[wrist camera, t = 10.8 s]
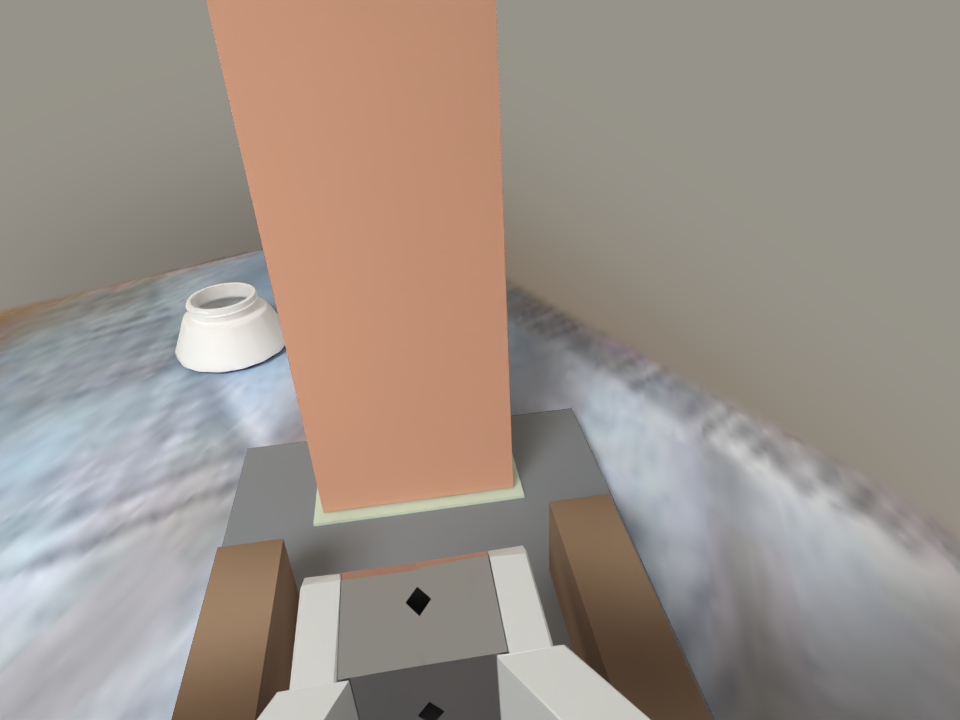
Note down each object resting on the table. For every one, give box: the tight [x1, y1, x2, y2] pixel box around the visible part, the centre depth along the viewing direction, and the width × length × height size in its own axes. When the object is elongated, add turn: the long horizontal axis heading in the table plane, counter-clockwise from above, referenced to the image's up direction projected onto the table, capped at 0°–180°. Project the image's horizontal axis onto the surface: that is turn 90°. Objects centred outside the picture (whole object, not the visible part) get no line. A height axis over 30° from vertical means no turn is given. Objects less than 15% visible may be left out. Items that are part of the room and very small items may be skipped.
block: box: [207, 0, 513, 513], centre depth 20 cm, size 6×6×15 cm
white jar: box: [175, 282, 285, 372], centre depth 31 cm, size 5×3×5 cm
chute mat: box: [222, 408, 714, 720], centre depth 17 cm, size 20×12×1 cm, turn 8°
